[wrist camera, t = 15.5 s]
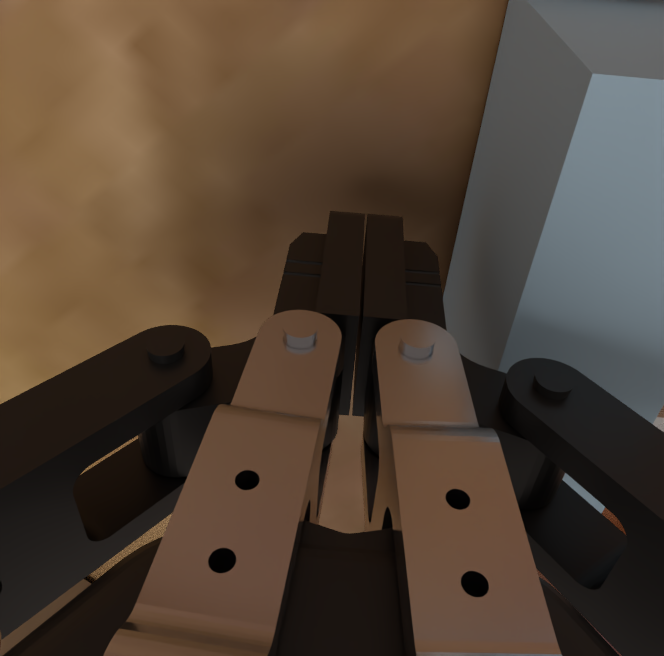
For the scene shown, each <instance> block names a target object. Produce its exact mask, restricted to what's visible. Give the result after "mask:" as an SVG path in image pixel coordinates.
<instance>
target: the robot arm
mask: <svg viewBox="0 0 664 656" xmlns="http://www.w3.org/2000/svg"><path fill="white" fill-rule="evenodd" d="M364 220H365V214H361V213H349V212H337V211H330V216H329V223H328V230H327V234H317V233H305V232H303V233H302V234H301V235H300V236H299V237H298V238H297V239H295V240H294V241H293V242H292V243H291V244H290V247H289V251H288V255H287V260H286V264H285V268H284V274H283V276H282V281H281V285H280V289H279V293H278V298H277V302H276V306H275V310H274V315H273V316H271V317H270V318H268V319H267V320H266V321H265V322H264V323H263V324H262V325H261V327H260V329H259V332H258V334H257V337H255V338H253V339H251V340H248V341H246V342H242V343H239V344H234V345H227V346H220V347H213V348H211V346H210V343H209V341H208V339H207V338H206V337H205V336H204V335H203V334H202V333H200V332H199V331H197V330H195V329H192V328H189V327H185V326H179V325H165V326H158V327H154V328H151V329H147V330H145V331H143V332H141V333H139V334H137V335H135V336H133V337H131V338H129V339H127V340H125V341H123V342H121V343H119V344H117V345H115V346H113V347H111V348H109V349H107V350H105V351H103V352H102V353H100V354H98V355H96V356H94V357H92V358H90V359H88V360H86V361H84V362H82V363H80V364H78V365H76V366H74V367H72V368H70V369H68V370H66V371H64V372H63V373H61V374H59V375H57V376H55V377H53V378H51V379H49V380H47V381H45V382H43V383H41V384H39V385H37V386H35V387H33V388H31V389H29V390H27V391H25V392H24V393H22V394H20V395H18V396H16V397H14V398H12V399H10V400H8V401H6V402H4V403H2V404H0V656H619V655H618V654H617V653H616V652H615V651H614V649H613V648H612V647H611V646H610V645H609V644H608V643H607V642H606V641H605V640H604V639H603V638H602V637H601V635H602V636H603V637H604V638H605V639H606V640H607V641H608V642H609V643H610V644H611V645H612V646H613V647H614V648H615V649H616V650H617V651H618V652H619V653H620V654H621V655H622V656H664V432H663V431H661V430H660V429H659V428H657V427H656V426H654V425H653V424H652V423H650V422H649V421H647V420H646V419H645V418H643V417H642V416H640V415H639V414H638V413H636V412H635V411H633V410H632V409H631V408H629V407H628V406H627V405H625V404H624V403H622V402H621V401H620V400H618V399H617V398H615V397H614V396H613V395H611V394H610V393H608V392H607V391H606V390H604V389H603V388H601V387H600V386H599V385H597V384H596V383H595V382H593V381H592V380H590V379H589V378H588V377H586V376H585V375H583V374H582V373H581V372H579V371H578V370H576V369H574V368H573V367H571V366H569V365H567V364H564V363H562V362H559V361H556V360H552V359H546V358H528V359H523V360H521V361H518V362H516V363H515V364H513V365H512V366H511V367H510V368H509V370H508V372H507V373H504V372H501V371H497V370H494V369H491V368H488V367H485V366H482V365H479V364H477V363H475V362H473V361H471V360H469V359H468V358H466V357H464V356H463V355H462V354H460V352H459V348H458V345H457V343H456V341H455V339H454V338H453V337H452V335H451V334H450V333H448V332H447V328H446V320H445V313H444V305H443V297H442V289H441V281H440V275H439V265H438V257H437V256H436V254H435V253H434V252H433V251H432V250H431V248H430V247H429V246H428V245H427V243H426V242H414V241H404V236H403V218H402V217H399V216H387V215H375V214H368V215H367V223H366V233H365V243H364V253H363V238H364ZM362 257H363V262H362ZM355 352H356V360H355ZM354 361H355V377H354V395H353V412H352V415H353V416H364V428H363V437H362V445H361V465H362V483H363V500H364V518H365V532H361V533H354V534H347V533H341V532H338V531H335V530H332V529H329V528H326V527H323V526H320V525H318V523H319V518H320V512H321V507H322V501H323V496H324V491H325V485H326V480H327V475H328V469H329V464H330V458H331V453H332V444H333V440H334V438H335V436H336V434H337V429H338V419H339V415H349V409H350V399H351V390H352V380H353V371H354ZM137 435H138V437H139V438H138V439H136V440H135V441H133V442H132V443H130V444H129V445H127V446H125V447H124V448H122V449H121V450H119V451H118V452H116V453H114V454H113V455H111V456H110V457H108V458H106V459H105V460H103V461H102V462H100V463H99V464H97V465H95V466H94V467H92V468H91V469H89V470H87V471H86V472H84V473H83V474H81V473H82V472H83V471H84V470H85V469H86V468H87V467H88V466H90V465H91V464H92V463H94V462H96V461H97V460H99V459H100V458H102V457H104V456H105V455H107V454H108V453H110V452H112V451H113V450H115V449H116V448H118V447H120V446H121V445H123V444H124V443H126V442H127V441H129V440H131V439H132V438H134V437H135V436H137ZM565 473H566V474H568V475H569V476H570V477H571V478H572V479H573V480H574V481H576V482H577V483H578V484H579V485H580V486H581V487H583V488H584V489H585V490H586V491H587V492H588V493H590V494H591V495H592V496H593V497H594V498H595V499H597V500H598V501H599V502H600V503H601V504H602V505H604V506H605V507H606V508H607V509H608V510H609V511H611V512H612V513H613V514H614V515H615V516H616V517H617V518H618V520H619V521H620V522H621V524H622V525H623V527H624V529H625V532H626V535H627V536H626V535H625V534H624V533H623V532H622V531H620V530H619V529H618V528H617V527H616V526H615V525H614V524H612V523H611V522H610V521H609V520H608V519H607V518H606V517H604V516H603V515H602V514H601V513H600V512H599V511H598V510H596V509H595V508H594V507H593V506H592V505H591V504H590V503H588V502H587V501H586V500H585V499H584V498H583V497H582V496H580V495H579V494H578V493H577V492H576V491H575V490H574V489H572V488H571V487H570V486H569V485H568V484H567V483H565V482H564V481H563V480H562V479H563V477H564V475H565ZM80 474H81V475H80ZM79 475H80V476H79ZM172 512H173V513H172ZM171 513H172V516H171V518H170V521H169V523H168V526H167V528H166V531H165V533H164V535H163V537H161V538H158V539H156V540H154V541H152V542H150V543H148V544H146V545H144V546H142V547H141V548H139V549H137V550H136V551H134V552H133V553H131V554H129V555H128V556H126V557H125V558H124V559H122V560H121V561H120V562H118V563H117V564H116V565H114V566H113V567H112V568H111V569H110V570H108V571H107V572H106V573H105V574H103V575H102V576H101V577H100V578H98V579H97V580H96V581H95V582H93V583H92V584H91V583H89V582H88V581H86V580H84V578H85V577H87V576H88V575H89V574H91V573H92V572H93V571H95V570H96V569H97V568H99V567H100V566H101V565H103V564H104V563H105V562H107V561H108V560H109V559H111V558H112V557H113V556H115V555H116V554H117V553H119V552H120V551H121V550H123V549H124V548H125V547H127V546H128V545H129V544H131V543H132V542H133V541H135V540H136V539H137V538H139V537H140V536H142V535H143V534H144V533H146V532H147V531H148V530H150V529H151V528H152V527H154V526H155V525H156V524H158V523H159V522H160V521H162V520H163V519H164V518H166V517H167V516H168V515H170V514H171ZM536 568H537V569H538V570H539V571H540V572H541V573H542V574H543V575H544V576H545V577H546V578H547V579H548V580H549V581H550V583H551V584H552V585H553V586H554V587H555V588H556V589H557V590H558V591H559V592H560V593H561V594H562V595H561V594H560V593H559V592H558V591H557V590H556V589H554V588H553V587H552V586H551V585H550V584H548V583H547V582H546V581H544V580H543V579H542V578H540V577H539V576H538V573H537V569H536ZM575 608H576V609H577V610H578V611H579V612H580V613H581V614H582V615H583V616H584V617H585V618H586V619H587V620H588V621H589V622H590V623H591V624H592V625H593V626H594V627H595V628H596V629H597V630H598V631H599V632H600V633H601V635H600V634H599V633H598V632H597V631H596V630H595V629H594V628H593V627H592V626H591V625H590V624H589V623H588V621H587V620H586V619H585V618H584V617H583V616H582V615H581V614H580V613H579V612H578V611H577V610H576V609H575Z"/></svg>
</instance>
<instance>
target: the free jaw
mask: <svg viewBox="0 0 664 656" xmlns="http://www.w3.org/2000/svg"><path fill="white" fill-rule="evenodd" d="M443 305H444V313H445V320H446V328H447V332H448V333H450V334H451V335H452V337H453V338H454V339H455V341H456V343H457V345H458V348H459V352H460V354H462V355H463V356H464V357H466V358H468V359H469V360H471V361H473V362H475V363H477V364H479V365H482V366H485V367H488V368H491V369H494V370H497V371H501V372H504V373H507V372H508V370H509V368H510V367H511V366H512V365H513V364H515V363H516V362H518V361H521V360H523V359H528V358H546V359H552V360H556V361H559V362H562V363H564V364H567V365H569V366H571V367H573V368H574V369H576V370H578V371H579V372H581V373H582V374H583V375H585V376H586V377H588V378H589V379H590V380H592V381H593V382H595V383H596V384H597V385H599V386H600V387H601V388H603V389H604V390H606V391H607V392H608V393H610V394H611V395H613V396H614V397H615V398H617V399H618V400H620V401H621V402H622V403H624V404H625V405H627V406H628V407H629V408H631V409H632V410H633V411H635V412H636V413H638V414H639V415H640V416H642V417H643V418H645V419H646V420H647V421H649V422H650V423H652V424H653V423H654V421H655V419H656V417H657V416H658V414H659V412H660V410H661V409H662V407H663V405H664V0H509V2H508V7H507V11H506V16H505V20H504V25H503V29H502V34H501V38H500V43H499V47H498V52H497V56H496V61H495V65H494V70H493V74H492V79H491V83H490V88H489V92H488V97H487V101H486V106H485V110H484V115H483V119H482V124H481V128H480V133H479V137H478V142H477V146H476V151H475V155H474V160H473V164H472V169H471V173H470V178H469V182H468V187H467V191H466V196H465V200H464V205H463V209H462V214H461V218H460V223H459V227H458V232H457V236H456V241H455V245H454V250H453V254H452V259H451V263H450V268H449V272H448V277H447V281H446V286H445V290H444V295H443ZM562 480H563V481H564V482H565V483H567V484H568V485H569V486H570V487H571V488H572V489H574V490H575V491H576V492H577V493H578V494H579V495H580V496H582V497H583V498H584V499H585V500H586V501H587V502H588V503H590V504H591V505H592V506H593V507H594V508H595V509H596V510H598V511H599V512H600V513H602V512H603V510H604V508H605V506H604V505H602V504H601V503H600V502H599V501H598V500H597V499H595V498H594V497H593V496H592V495H591V494H590V493H588V492H587V491H586V490H585V489H584V488H583V487H581V486H580V485H579V484H578V483H577V482H576V481H574V480H573V479H572V478H571V477H570V476H569V475H568V474H566V473H565V475H564V477H563V479H562Z"/></svg>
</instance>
